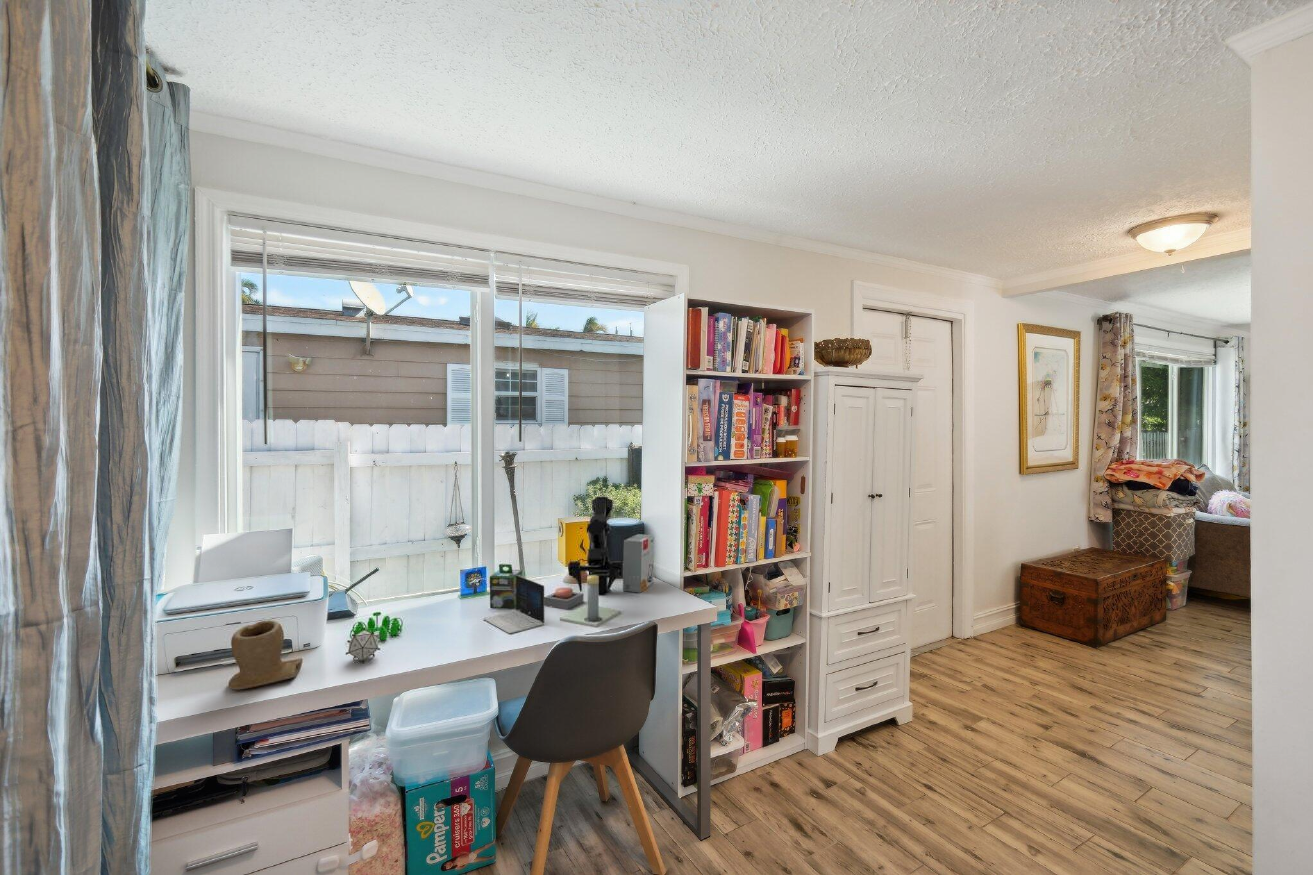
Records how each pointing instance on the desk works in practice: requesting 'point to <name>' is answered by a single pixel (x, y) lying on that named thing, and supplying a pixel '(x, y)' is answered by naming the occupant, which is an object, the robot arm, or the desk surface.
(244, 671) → the stone cup
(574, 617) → the pale green board
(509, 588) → the chalk box
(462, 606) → the desk surface
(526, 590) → the laptop
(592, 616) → the marker
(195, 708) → the desk surface
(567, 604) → the button housing
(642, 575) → the hard drive box
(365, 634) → the game die
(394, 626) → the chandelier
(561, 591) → the button
